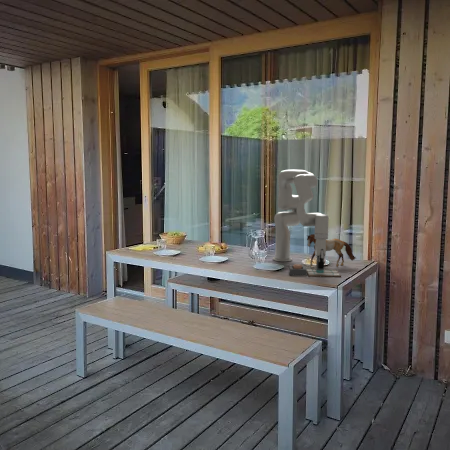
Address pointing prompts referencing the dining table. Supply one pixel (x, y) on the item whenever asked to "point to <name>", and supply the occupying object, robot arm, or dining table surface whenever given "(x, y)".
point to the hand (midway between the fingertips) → (320, 267)
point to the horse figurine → (333, 248)
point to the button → (297, 266)
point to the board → (326, 273)
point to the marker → (317, 266)
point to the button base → (297, 271)
